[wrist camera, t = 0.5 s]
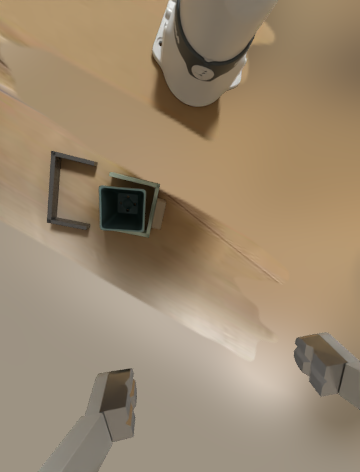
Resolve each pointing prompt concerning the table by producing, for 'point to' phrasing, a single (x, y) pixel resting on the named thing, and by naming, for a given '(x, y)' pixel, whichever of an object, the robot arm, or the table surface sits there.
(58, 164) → the frame
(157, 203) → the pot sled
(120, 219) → the flower pot
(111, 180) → the table surface
